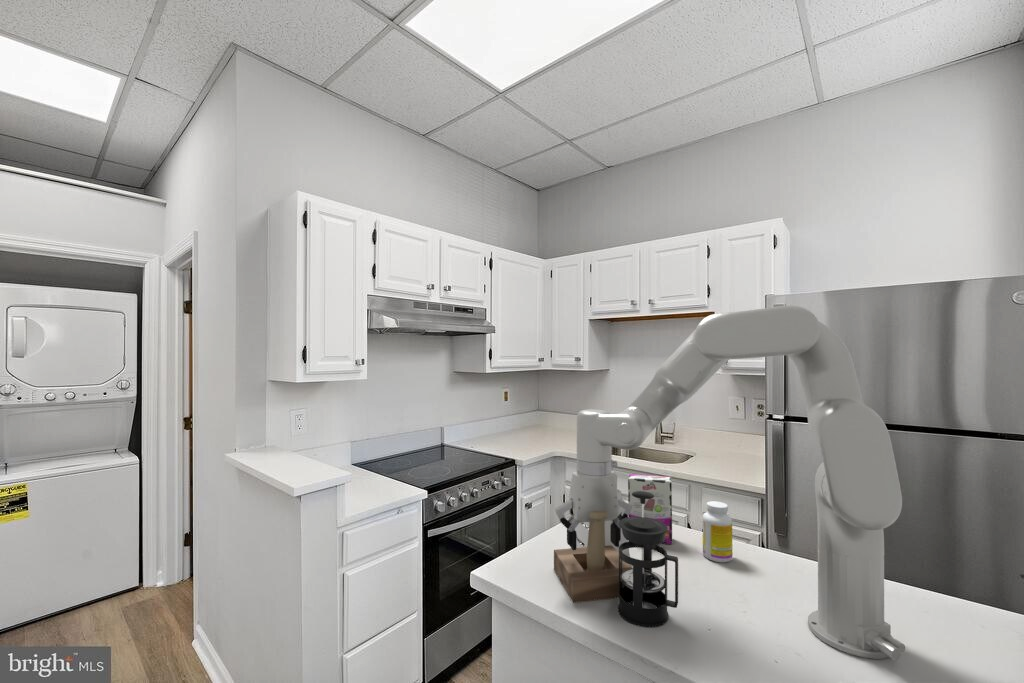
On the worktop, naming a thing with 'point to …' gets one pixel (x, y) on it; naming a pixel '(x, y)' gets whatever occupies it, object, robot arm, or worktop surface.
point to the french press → (644, 571)
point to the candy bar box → (652, 499)
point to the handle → (596, 541)
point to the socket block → (588, 574)
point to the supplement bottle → (717, 532)
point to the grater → (583, 531)
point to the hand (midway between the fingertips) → (593, 545)
